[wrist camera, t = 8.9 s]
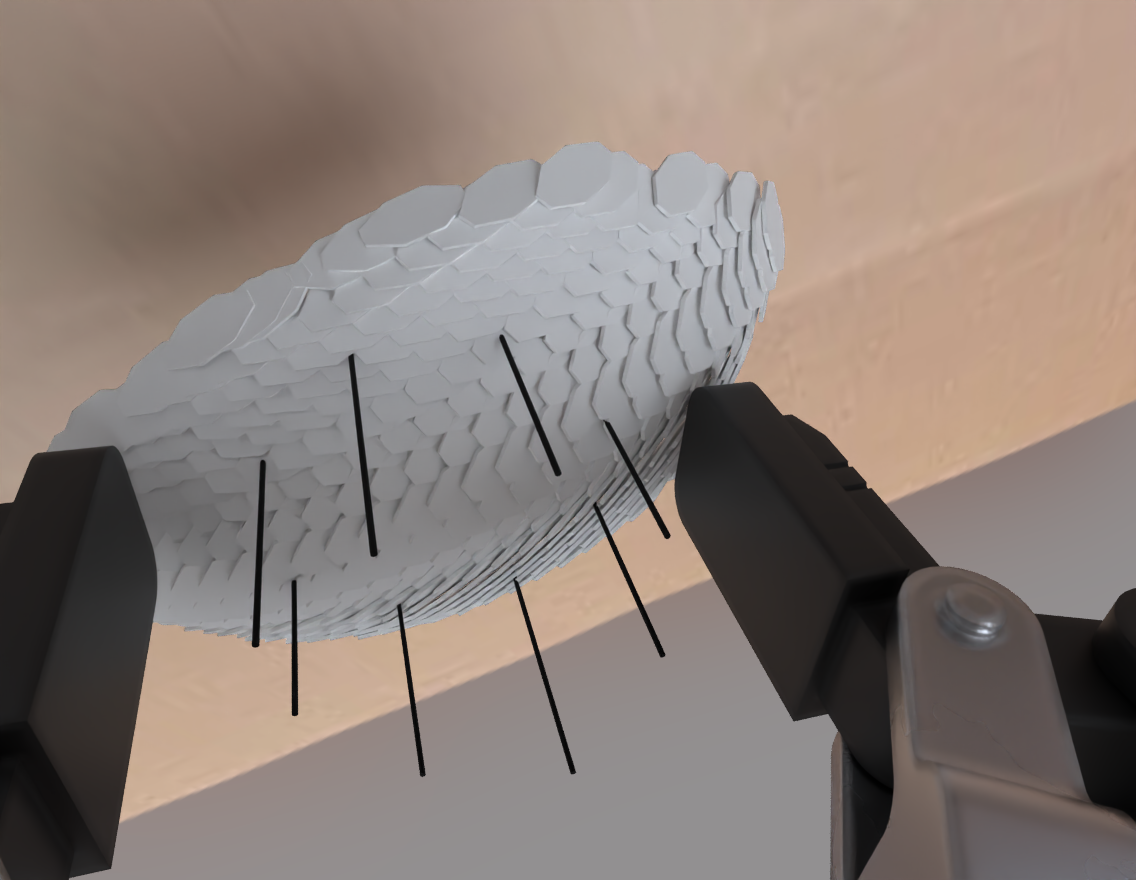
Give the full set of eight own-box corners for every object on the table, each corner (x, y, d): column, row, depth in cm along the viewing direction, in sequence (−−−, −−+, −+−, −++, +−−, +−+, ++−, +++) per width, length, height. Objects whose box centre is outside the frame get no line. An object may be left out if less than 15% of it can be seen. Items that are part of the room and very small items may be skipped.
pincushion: (194, 659, 14) (153, 1023, 10) (-121, 422, 10) (-417, 850, 6) (805, 348, 14) (1042, 587, 10) (714, -22, 10) (1045, 96, 6)
